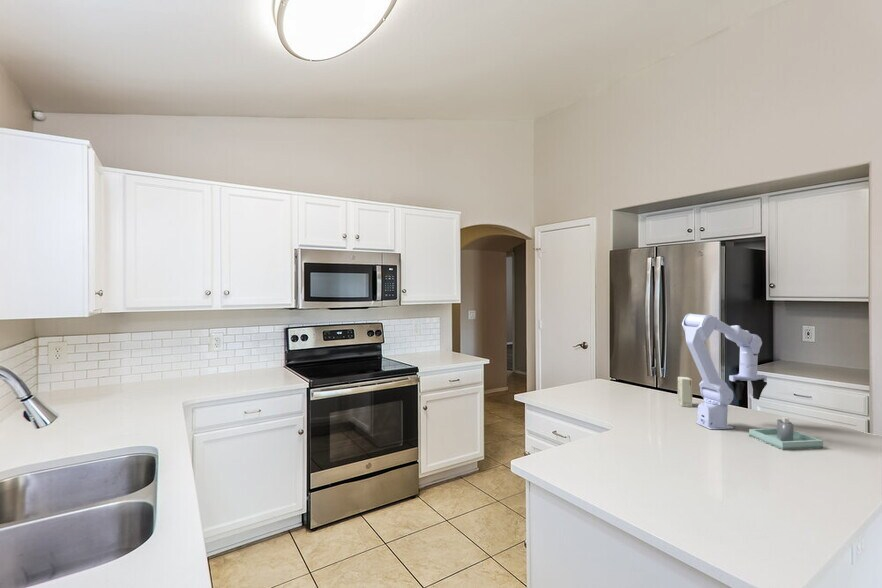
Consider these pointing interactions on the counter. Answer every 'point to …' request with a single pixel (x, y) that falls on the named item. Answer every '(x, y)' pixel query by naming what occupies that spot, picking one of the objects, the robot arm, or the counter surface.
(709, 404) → the robot arm
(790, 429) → the grey rounded piece
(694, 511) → the counter surface
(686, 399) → the skincare box
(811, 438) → the sage tray
